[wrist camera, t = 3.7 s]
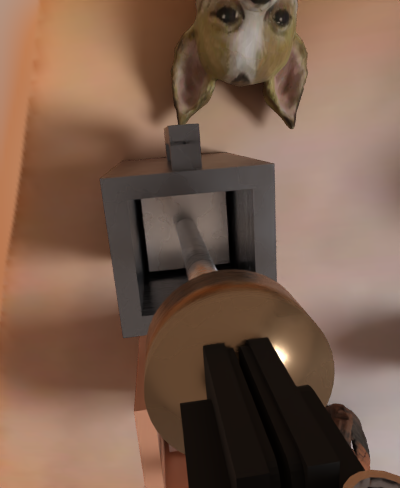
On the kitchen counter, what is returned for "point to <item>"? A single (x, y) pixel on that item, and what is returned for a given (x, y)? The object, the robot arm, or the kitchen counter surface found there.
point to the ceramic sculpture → (241, 55)
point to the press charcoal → (184, 183)
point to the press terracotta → (155, 441)
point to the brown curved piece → (351, 431)
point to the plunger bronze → (215, 311)
